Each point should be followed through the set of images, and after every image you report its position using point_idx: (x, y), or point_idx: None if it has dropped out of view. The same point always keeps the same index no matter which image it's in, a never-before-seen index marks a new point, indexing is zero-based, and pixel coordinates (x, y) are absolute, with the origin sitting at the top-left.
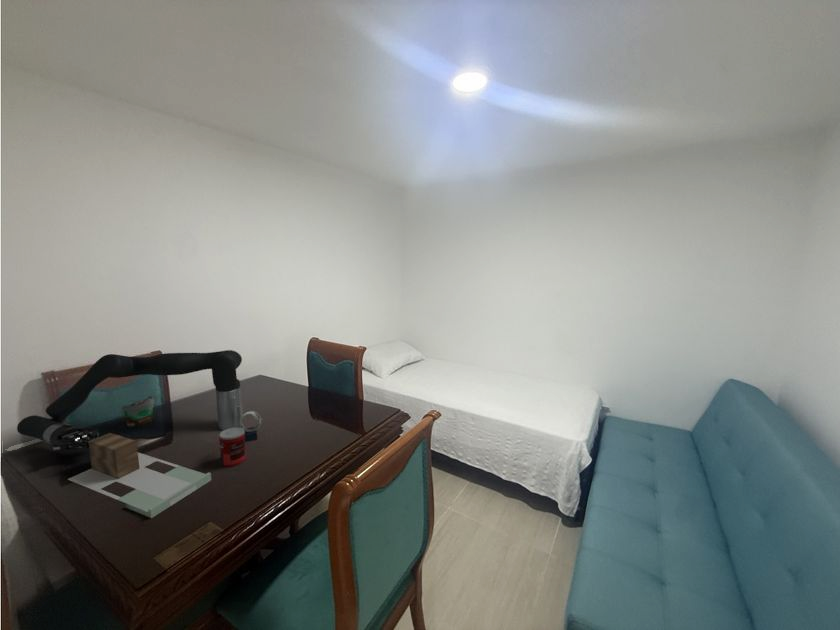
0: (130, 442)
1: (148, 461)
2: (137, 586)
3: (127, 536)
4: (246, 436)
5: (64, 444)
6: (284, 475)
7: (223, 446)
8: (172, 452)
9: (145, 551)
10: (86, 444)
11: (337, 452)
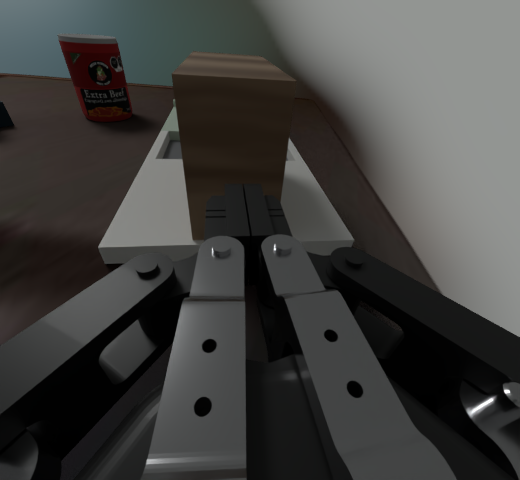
0: (208, 52)
1: (164, 166)
2: (312, 100)
3: (300, 117)
4: (4, 107)
5: (438, 297)
6: (139, 90)
7: (121, 64)
8: (77, 184)
9: (295, 107)
10: (271, 196)
11: (70, 80)
